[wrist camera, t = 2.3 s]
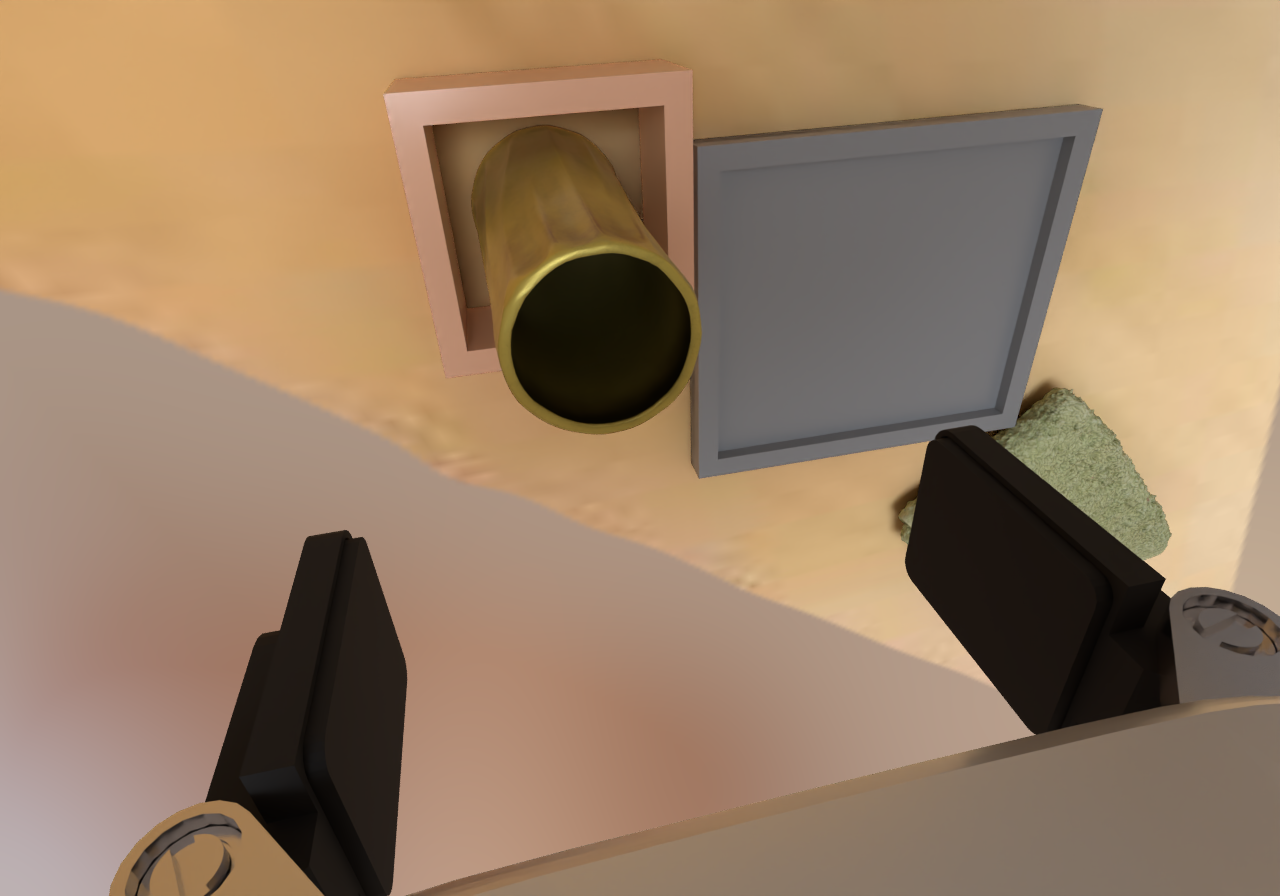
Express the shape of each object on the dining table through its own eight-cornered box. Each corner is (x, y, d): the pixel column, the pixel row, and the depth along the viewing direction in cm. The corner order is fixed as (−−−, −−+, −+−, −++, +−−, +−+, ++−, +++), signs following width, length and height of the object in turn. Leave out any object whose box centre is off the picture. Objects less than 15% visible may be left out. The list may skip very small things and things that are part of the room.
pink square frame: (661, 59, 28) (692, 69, 24) (668, 304, 33) (694, 344, 29) (394, 79, 26) (383, 94, 22) (447, 332, 32) (446, 378, 28)
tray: (1078, 104, 32) (1103, 108, 31) (997, 413, 41) (1014, 426, 40) (687, 140, 29) (697, 147, 28) (691, 462, 38) (698, 478, 37)
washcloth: (999, 629, 52) (1029, 664, 49) (875, 513, 43) (903, 548, 40) (1160, 512, 49) (1200, 543, 46) (1062, 359, 39) (1106, 387, 37)
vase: (611, 114, 28) (716, 203, 17) (627, 264, 32) (725, 427, 20) (455, 136, 28) (450, 245, 16) (489, 287, 31) (506, 470, 19)
